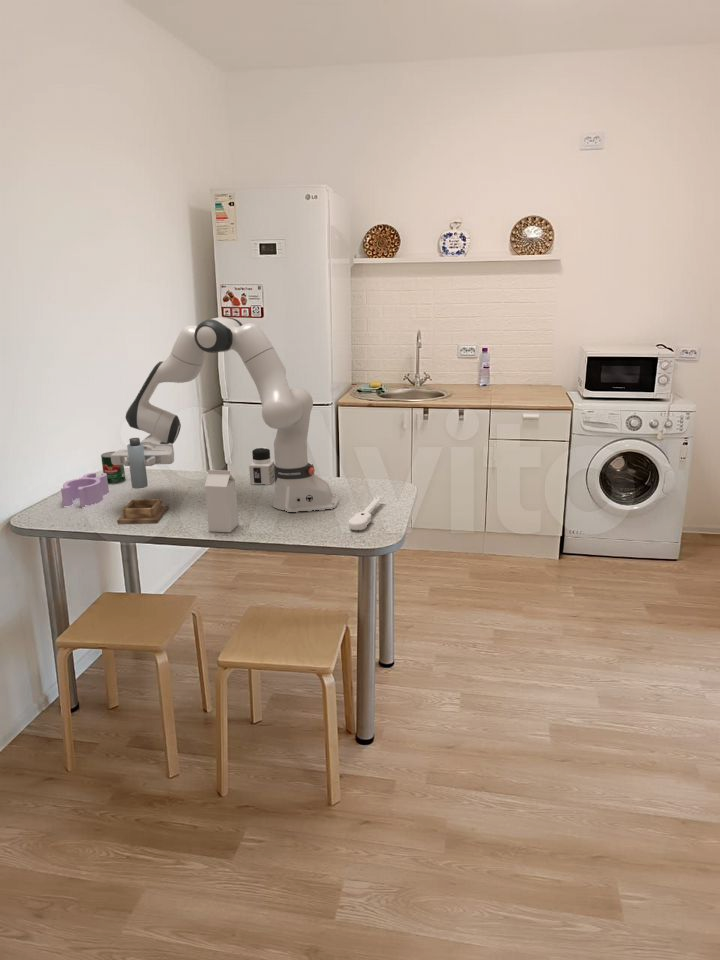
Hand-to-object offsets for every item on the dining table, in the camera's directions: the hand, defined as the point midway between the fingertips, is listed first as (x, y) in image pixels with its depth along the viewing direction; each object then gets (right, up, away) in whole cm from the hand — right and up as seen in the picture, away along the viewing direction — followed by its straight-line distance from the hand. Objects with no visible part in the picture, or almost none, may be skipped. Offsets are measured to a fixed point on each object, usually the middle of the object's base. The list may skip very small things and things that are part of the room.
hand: (136, 463), depth 231 cm
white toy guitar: (+75, -18, 0) cm, 77 cm away
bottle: (0, -7, +3) cm, 8 cm away
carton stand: (+1, -17, +6) cm, 18 cm away
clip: (-25, -12, +26) cm, 38 cm away
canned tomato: (-22, -6, +46) cm, 51 cm away
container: (+36, -6, +40) cm, 54 cm away
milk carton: (+30, -21, -6) cm, 37 cm away
